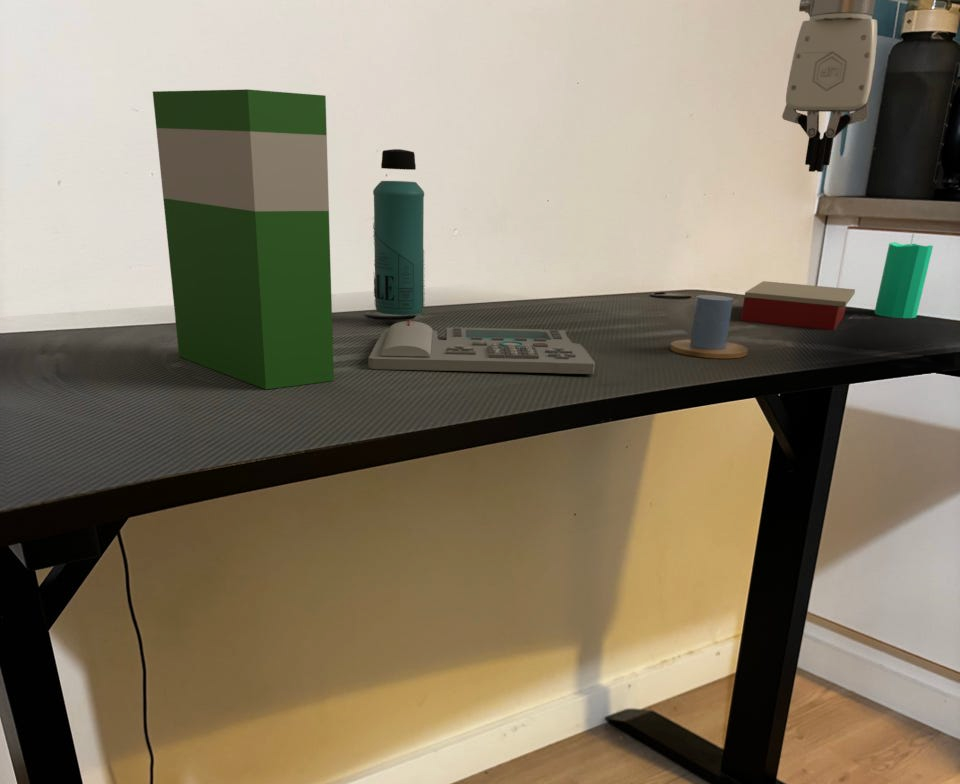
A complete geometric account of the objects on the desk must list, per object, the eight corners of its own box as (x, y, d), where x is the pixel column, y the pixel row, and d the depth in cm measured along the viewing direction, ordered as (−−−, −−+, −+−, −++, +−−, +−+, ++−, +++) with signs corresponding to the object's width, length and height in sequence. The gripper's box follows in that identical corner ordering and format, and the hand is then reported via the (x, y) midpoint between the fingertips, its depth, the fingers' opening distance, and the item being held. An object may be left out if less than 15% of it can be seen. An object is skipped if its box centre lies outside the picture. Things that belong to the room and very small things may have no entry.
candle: (921, 323, 142) (942, 235, 136) (881, 321, 142) (900, 233, 136) (906, 317, 147) (925, 232, 142) (867, 315, 147) (885, 230, 142)
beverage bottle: (432, 321, 126) (434, 150, 117) (412, 329, 120) (413, 150, 111) (386, 317, 128) (385, 148, 119) (364, 324, 122) (362, 147, 113)
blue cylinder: (728, 345, 116) (736, 297, 113) (722, 350, 112) (729, 301, 110) (694, 341, 117) (700, 293, 114) (686, 346, 114) (693, 297, 111)
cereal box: (179, 356, 100) (152, 91, 89) (243, 349, 104) (225, 96, 94) (265, 389, 88) (247, 89, 78) (333, 380, 93) (325, 95, 82)
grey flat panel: (854, 294, 140) (855, 289, 139) (844, 307, 127) (846, 301, 127) (762, 285, 144) (762, 281, 144) (744, 297, 132) (745, 291, 131)
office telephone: (367, 344, 97) (380, 313, 115) (368, 371, 98) (380, 336, 116) (596, 350, 98) (574, 318, 116) (594, 376, 99) (572, 340, 117)
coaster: (752, 349, 117) (753, 344, 117) (739, 361, 110) (740, 356, 109) (679, 341, 120) (680, 336, 120) (662, 353, 113) (662, 347, 112)
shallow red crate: (843, 320, 142) (848, 293, 140) (832, 335, 129) (838, 306, 127) (757, 312, 146) (762, 286, 144) (739, 325, 133) (744, 297, 132)
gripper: (776, 6, 120) (754, 170, 128) (904, 2, 115) (873, 173, 123) (785, 14, 126) (763, 170, 134) (906, 11, 121) (876, 173, 129)
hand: (815, 171), depth 129 cm, fingers closed
